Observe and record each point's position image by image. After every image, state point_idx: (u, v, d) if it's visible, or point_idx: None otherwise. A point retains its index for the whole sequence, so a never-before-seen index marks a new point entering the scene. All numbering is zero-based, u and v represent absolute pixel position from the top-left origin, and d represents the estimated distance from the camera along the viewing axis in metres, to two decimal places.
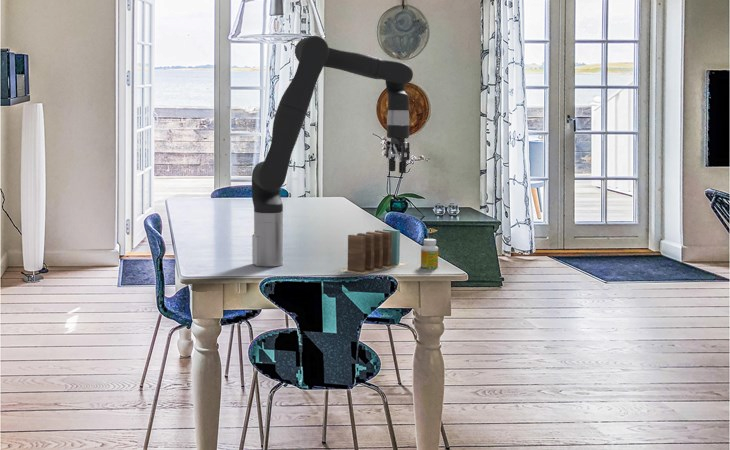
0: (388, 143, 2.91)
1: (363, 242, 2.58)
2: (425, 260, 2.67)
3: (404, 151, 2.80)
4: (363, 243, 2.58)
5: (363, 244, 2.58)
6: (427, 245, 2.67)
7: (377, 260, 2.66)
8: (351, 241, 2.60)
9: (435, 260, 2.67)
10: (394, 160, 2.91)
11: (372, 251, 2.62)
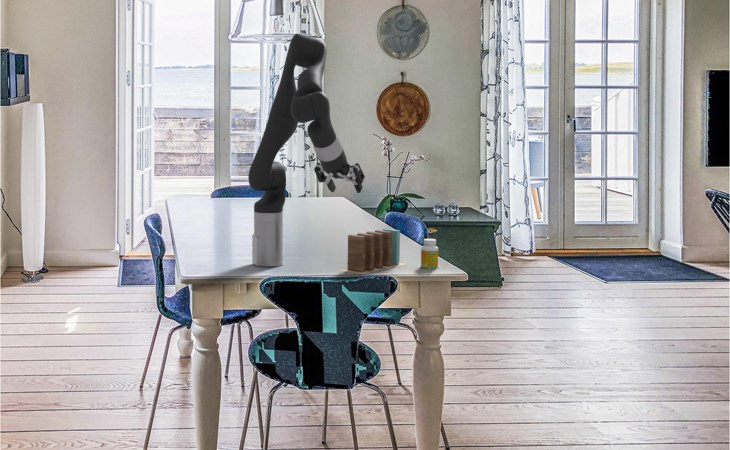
0: None
1: (363, 242, 2.58)
2: (425, 260, 2.67)
3: None
4: (363, 243, 2.58)
5: (363, 244, 2.58)
6: (427, 245, 2.67)
7: (377, 260, 2.66)
8: (351, 241, 2.60)
9: (435, 260, 2.67)
10: None
11: (372, 251, 2.62)
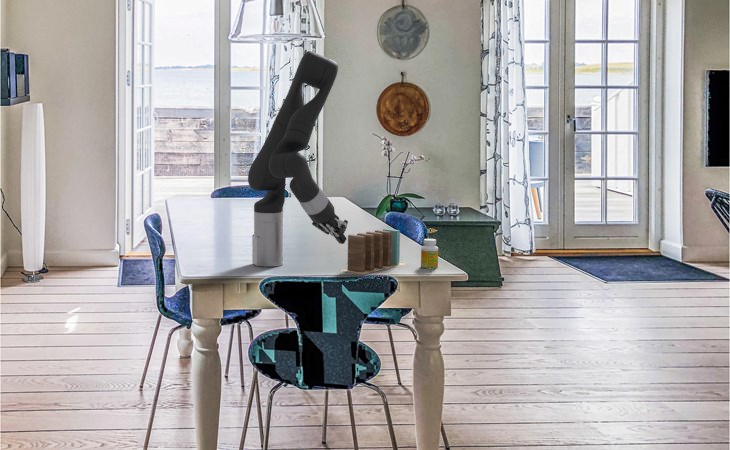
0: None
1: (363, 242, 2.58)
2: (425, 260, 2.67)
3: None
4: (363, 243, 2.58)
5: (363, 244, 2.58)
6: (427, 245, 2.67)
7: (377, 260, 2.66)
8: (351, 241, 2.60)
9: (435, 260, 2.67)
10: None
11: (372, 251, 2.62)
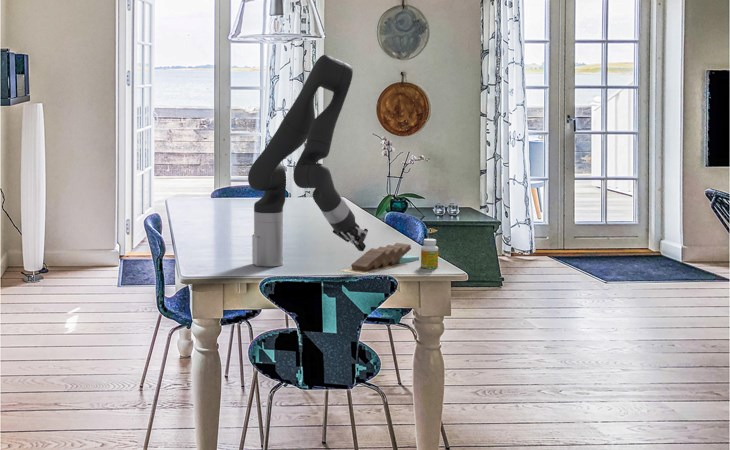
0: None
1: (382, 255, 2.67)
2: (425, 260, 2.67)
3: None
4: (382, 255, 2.66)
5: (381, 255, 2.66)
6: (427, 245, 2.67)
7: None
8: (371, 251, 2.69)
9: (435, 260, 2.67)
10: None
11: (385, 257, 2.68)
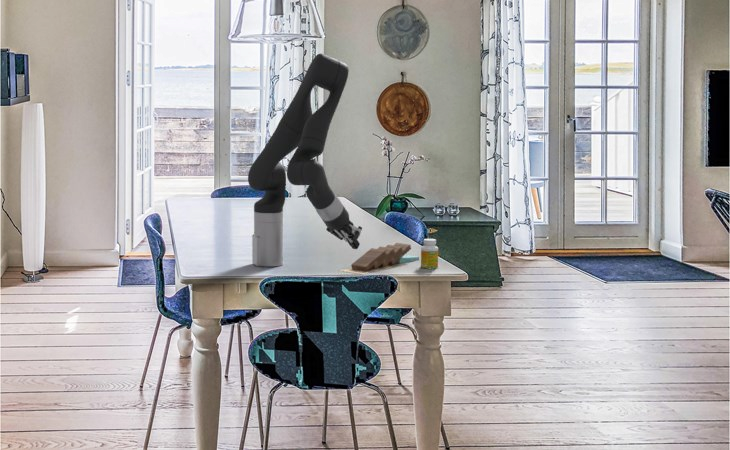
0: None
1: (382, 255, 2.67)
2: (425, 260, 2.67)
3: None
4: (382, 255, 2.66)
5: (381, 255, 2.66)
6: (427, 245, 2.67)
7: None
8: (371, 251, 2.69)
9: (435, 260, 2.67)
10: None
11: (385, 257, 2.68)
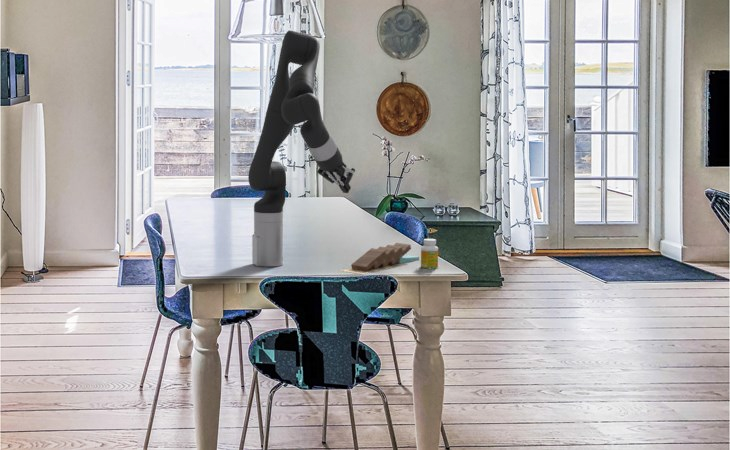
0: None
1: (382, 255, 2.67)
2: (425, 260, 2.67)
3: None
4: (382, 255, 2.66)
5: (381, 255, 2.66)
6: (427, 245, 2.67)
7: None
8: (371, 251, 2.69)
9: (435, 260, 2.67)
10: None
11: (385, 257, 2.68)
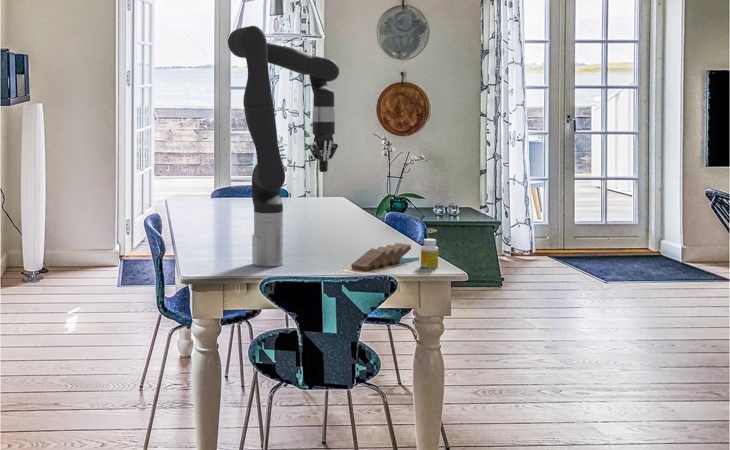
0: None
1: (382, 255, 2.67)
2: (425, 260, 2.67)
3: (313, 153, 2.84)
4: (382, 255, 2.66)
5: (381, 255, 2.66)
6: (427, 245, 2.67)
7: None
8: (371, 251, 2.69)
9: (435, 260, 2.67)
10: (325, 161, 2.87)
11: (385, 257, 2.68)
